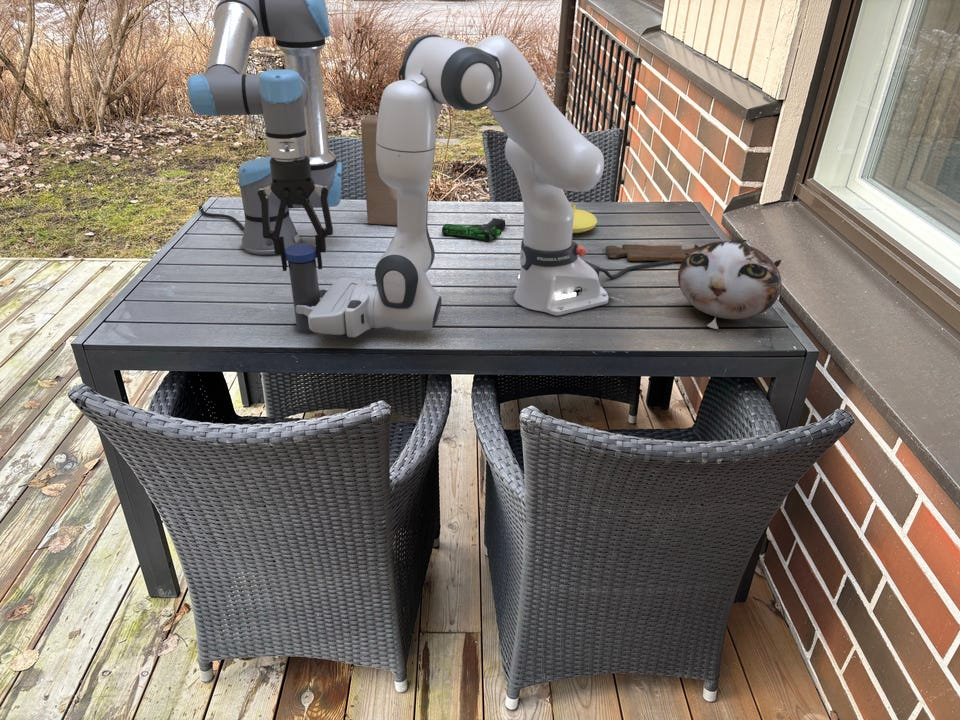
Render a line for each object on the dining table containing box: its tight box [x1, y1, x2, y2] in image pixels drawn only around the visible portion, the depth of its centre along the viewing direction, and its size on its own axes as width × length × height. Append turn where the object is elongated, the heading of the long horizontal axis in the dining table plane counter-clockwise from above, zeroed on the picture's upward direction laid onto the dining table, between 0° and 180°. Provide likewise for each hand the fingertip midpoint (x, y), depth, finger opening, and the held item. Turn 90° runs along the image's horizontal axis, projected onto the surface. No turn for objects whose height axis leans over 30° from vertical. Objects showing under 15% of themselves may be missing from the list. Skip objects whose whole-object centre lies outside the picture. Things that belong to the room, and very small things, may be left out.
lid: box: [284, 243, 317, 263], centre depth 148 cm, size 7×7×2 cm
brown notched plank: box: [605, 243, 694, 263], centre depth 194 cm, size 26×2×10 cm
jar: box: [287, 258, 321, 334], centre depth 152 cm, size 6×6×17 cm
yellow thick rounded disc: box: [570, 203, 598, 234], centre depth 209 cm, size 16×16×7 cm
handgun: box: [441, 217, 506, 242], centre depth 207 cm, size 16×3×15 cm
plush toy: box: [677, 240, 783, 330], centre depth 159 cm, size 22×18×20 cm
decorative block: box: [360, 114, 397, 226], centre depth 206 cm, size 8×15×30 cm, turn 82°
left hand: (302, 267), depth 149 cm, fingers closed on lid, 6 cm apart
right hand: (302, 301), depth 154 cm, fingers closed on jar, 5 cm apart
